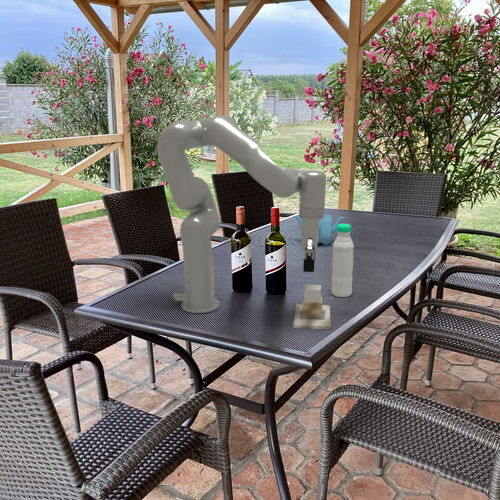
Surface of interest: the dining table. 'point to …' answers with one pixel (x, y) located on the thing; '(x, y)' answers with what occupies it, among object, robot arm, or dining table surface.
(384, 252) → the dining table surface
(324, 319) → the board
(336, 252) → the water bottle
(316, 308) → the oak block
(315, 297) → the grey block
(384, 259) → the dining table surface
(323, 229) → the teakettle
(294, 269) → the dining table surface
